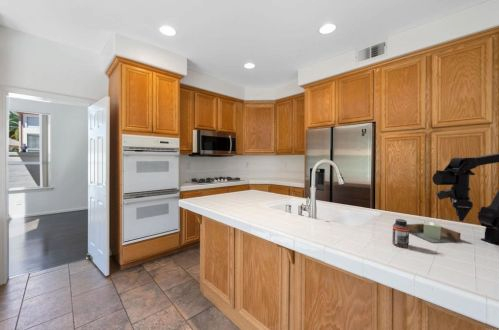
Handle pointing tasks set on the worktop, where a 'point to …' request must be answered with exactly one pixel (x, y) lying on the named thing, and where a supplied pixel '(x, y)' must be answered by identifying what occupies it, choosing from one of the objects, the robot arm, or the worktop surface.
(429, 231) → the cube
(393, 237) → the supplement bottle
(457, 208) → the robot arm
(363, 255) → the worktop surface
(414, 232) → the corner arena
